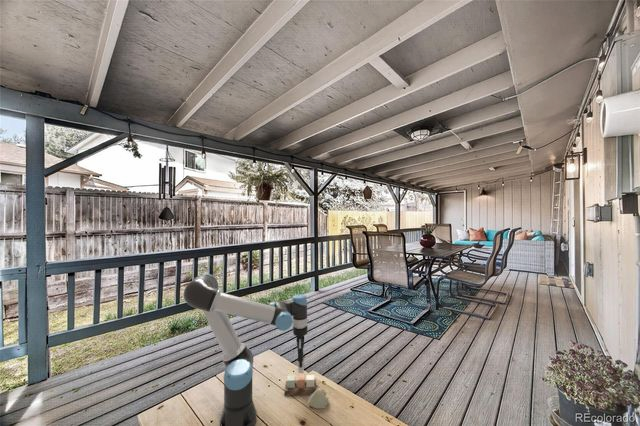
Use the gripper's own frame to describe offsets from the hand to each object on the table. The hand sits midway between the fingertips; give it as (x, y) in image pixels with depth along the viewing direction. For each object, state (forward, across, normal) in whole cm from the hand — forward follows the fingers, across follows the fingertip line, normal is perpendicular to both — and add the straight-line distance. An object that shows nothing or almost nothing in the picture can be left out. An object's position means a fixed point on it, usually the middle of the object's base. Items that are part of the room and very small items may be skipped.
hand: (301, 372), depth 125 cm
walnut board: (+9, 0, 0) cm, 9 cm away
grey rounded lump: (+9, -10, -9) cm, 16 cm away
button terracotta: (+6, 0, 0) cm, 6 cm away
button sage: (+6, 0, +5) cm, 8 cm away
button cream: (+6, 0, -5) cm, 8 cm away
